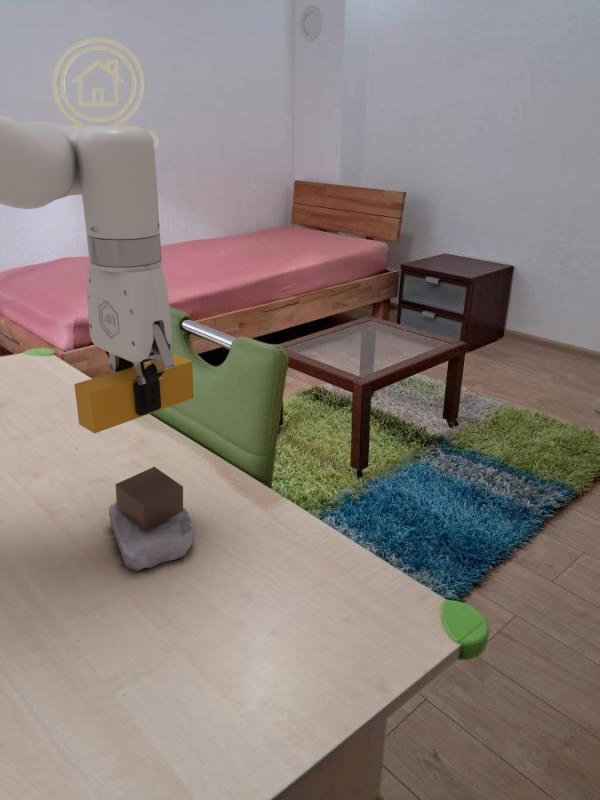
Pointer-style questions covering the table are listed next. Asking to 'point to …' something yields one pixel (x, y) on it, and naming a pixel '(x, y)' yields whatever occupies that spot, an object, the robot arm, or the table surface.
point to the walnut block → (149, 498)
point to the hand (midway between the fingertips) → (138, 405)
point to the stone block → (151, 539)
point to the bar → (128, 395)
